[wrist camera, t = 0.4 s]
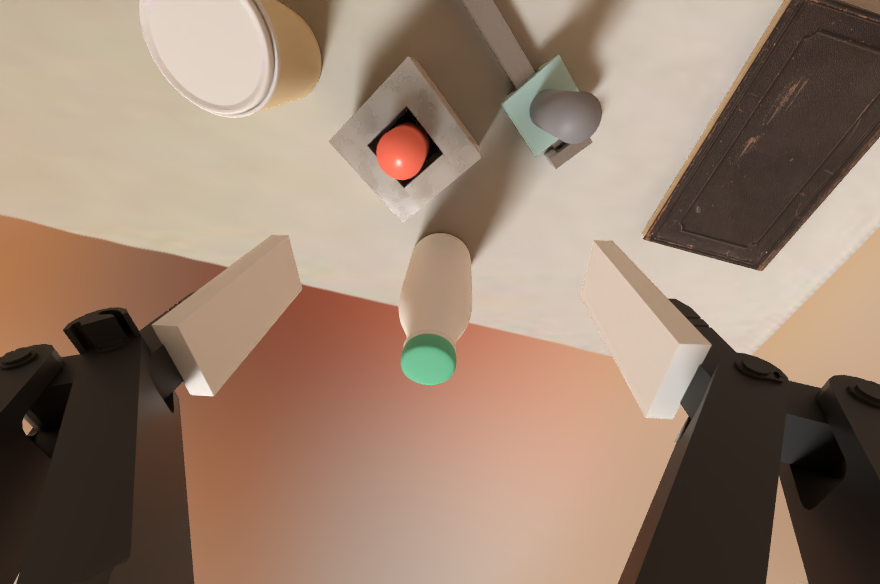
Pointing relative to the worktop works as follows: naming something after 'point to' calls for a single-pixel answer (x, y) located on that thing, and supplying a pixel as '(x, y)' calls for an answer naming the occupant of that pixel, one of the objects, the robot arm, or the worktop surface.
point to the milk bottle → (435, 307)
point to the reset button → (403, 150)
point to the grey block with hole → (436, 117)
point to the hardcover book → (778, 136)
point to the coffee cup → (232, 52)
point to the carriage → (552, 108)
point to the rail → (514, 63)
